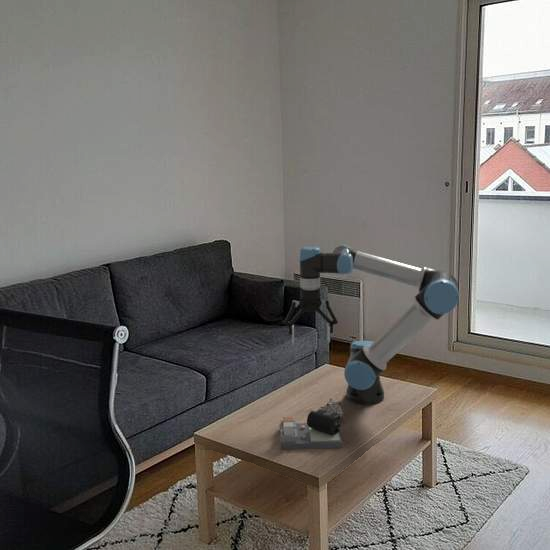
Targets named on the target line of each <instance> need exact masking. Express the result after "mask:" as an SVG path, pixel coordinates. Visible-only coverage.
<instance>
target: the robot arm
mask: <svg viewBox="0 0 550 550" xmlns="http://www.w3.org/2000/svg"><path fill="white" fill-rule="evenodd" d="M298 261H299V273H300V274H299V286H300V289H299V292H300V294H299V295H300V300H299V301H298V300H295V299H292V303H291V306H290V308H289V311H288V313H287V315H286V317H285V318H284V320H283V324H284V326H288V334H289V335H291V342H292V344H295V325H294V324H295V323H296V322H297V321H298V320H299V319H300V317H301V316H302V315H303V314H305V313H315V312H317V313H318V314H319V315H320V316H321V317H322V318H323V320H325V321H326V322H327V327H326V328H327V330H326V331H327V334H326V335H327V336H326V337H327V339H326V340H327V342H328V343H331V334H333V332H334V325H337V324H338V319H337V317H336V315H335V314H334V312H333V309H332V308H331V306H330V301H329V299H327V298H325V299H324V300H321V288H320V287H321V274H337V275H339V274H340V275H347V274H348V275H349V274H351V273H352V272H353V271H356V272H360V273H363V274H366V275H370V276H374V277H378V278H381V279H383V280H388V281H391V282H395V283H398V284H401V285H405V286H409V287H412V288H415V289H416V290H417V292H418V293H417V294H416V295H415V296H414V303H413V304H412V305H411V306H410V307H409V308H408V309H407V310H406V311H405V312H403V314H402V315H400V317H399V318H398V319H397V320H395V321H394V322H393V323H392V324H391V325H390V326H389V327H388V328H387V329H386V330H385V331H384V332H383V333H382V334H381V335H380V336H379V337H378V338H377V339H375V341H372V340H356V341H353V342H351V343H350V347H349V350H350V356H349V358H348V361H347V363H346V365H345V366H344V373H343V374H344V375H343V376H344V379H345V381H346V383H347V387H346V392H345V396H346V399H347V400H348V401H350V402H351V403H355V404H358V405H359V404H360V405H372V404H373V405H374V404H377V403H380V402H382V401H383V400H384V399H385V391H384V388H383V385H382V382H381V377H380V376H381V375H382V374H383V372H384V371H385V370H386V369H387V362H389V361H390V360H391V359H392V358H393V357H395V356H396V354H398V352H400V351H401V349H403V348H404V347H405V346H406V345H407V344H408V343H409V342H410V341H411V340H412V339H413V338H415V337H416V335H417V334H418V333H420V331H422V330H423V329H424V328H425V327H426V326H427V325H428V324H429V323H430V322H431V321H438V320H440V319H441V318H442V317H443V316H444V315H445V314H449V313H450V312H451V311H453V310H454V309H455V308H456V307H457V305H458V303H459V300H460V290H459V283H458V280H457V279H456V278H455V277H454V275H452V274H450V273H449V272H446V271H444V270H439V269H435V268H431V267H427V266H424V267H418V266H413V265H410V264H406V263H403V262H398V261H395V260H391V259H388V258H385V257H381V256H377V255H374V254H369V253H366V252H362V251H360V250H355V249H352V248H351V247H350V246H348V245H339V246H337V247H335V248H334V249H333V251H332V252H321V249H320V248H319V247H318V246H304V247H302V248H301V249H300V250H299V260H298ZM322 305H323V306H324V307H326V309H327V311H328V313H329V315H330V317H331V318H332V319H331V318H329V316H328V315H327V314H326V313H325V311H323V309H321V306H322ZM298 306H300V308H299V310H298V311H297V312H296V314H295V315H294V316H292V315H293V313H294V311H295V309H296V308H298Z"/></svg>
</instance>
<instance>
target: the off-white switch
mask: <svg viewBox="0 0 550 550" xmlns="http://www.w3.org/2000/svg"><path fill="white" fill-rule="evenodd" d="M283 432H284V436H289V435H294V424H293V422H283Z"/></svg>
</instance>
